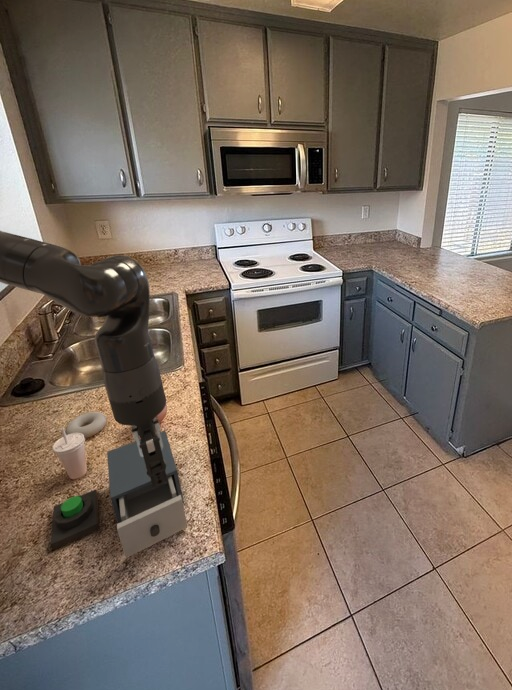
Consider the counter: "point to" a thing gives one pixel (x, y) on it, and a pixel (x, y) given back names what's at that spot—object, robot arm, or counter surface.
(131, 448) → the cabinet
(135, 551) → the drawer
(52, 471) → the counter surface
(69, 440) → the smoothie
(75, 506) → the button
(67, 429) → the donut
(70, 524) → the control block
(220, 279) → the counter surface
